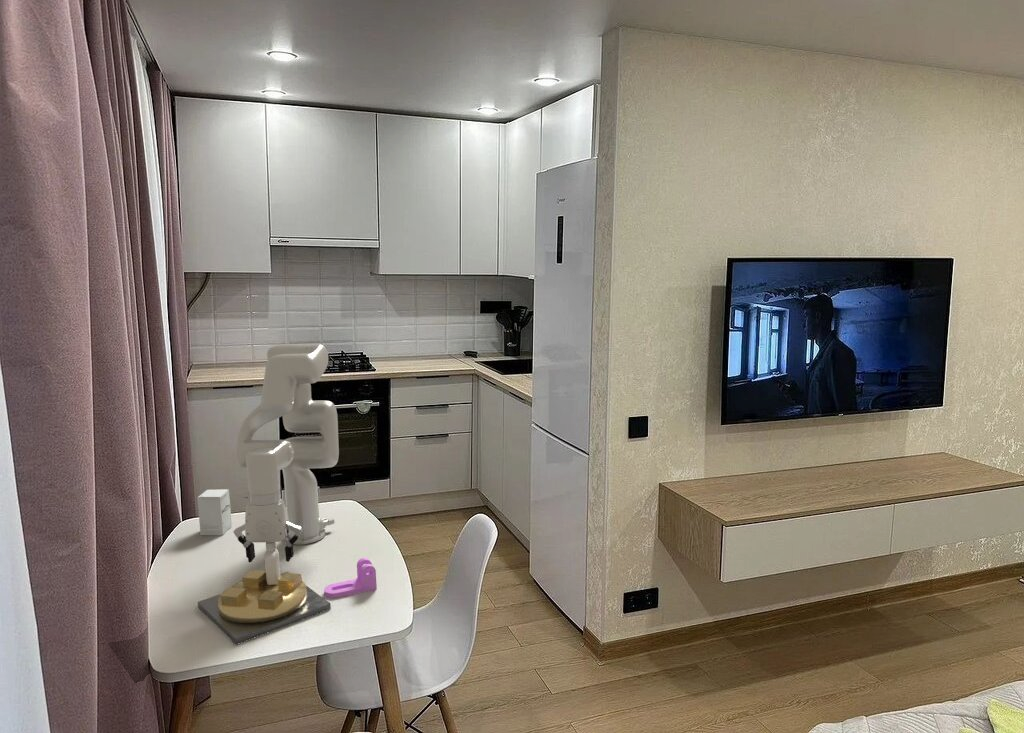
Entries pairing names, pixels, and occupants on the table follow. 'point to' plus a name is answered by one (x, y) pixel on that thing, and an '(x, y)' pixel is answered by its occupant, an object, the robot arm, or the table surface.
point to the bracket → (355, 581)
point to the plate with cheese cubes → (262, 598)
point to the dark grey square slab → (251, 630)
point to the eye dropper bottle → (272, 564)
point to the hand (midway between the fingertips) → (270, 559)
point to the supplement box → (214, 512)
